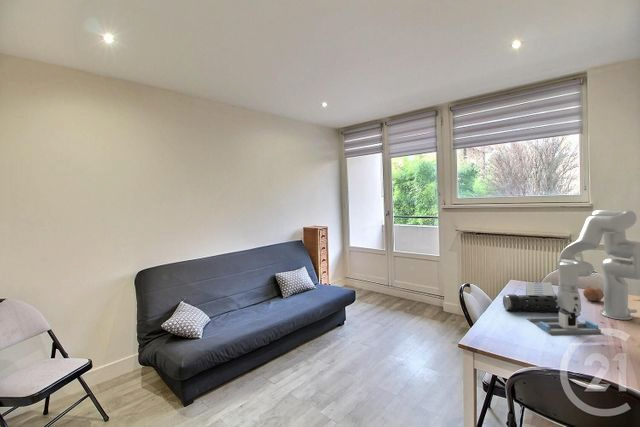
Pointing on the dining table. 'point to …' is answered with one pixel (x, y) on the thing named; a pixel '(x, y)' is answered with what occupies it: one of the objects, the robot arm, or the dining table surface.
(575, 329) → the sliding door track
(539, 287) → the warehouse
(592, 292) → the onion
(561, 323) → the grey rectangular prism
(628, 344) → the dining table surface
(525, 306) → the muzzle brake
